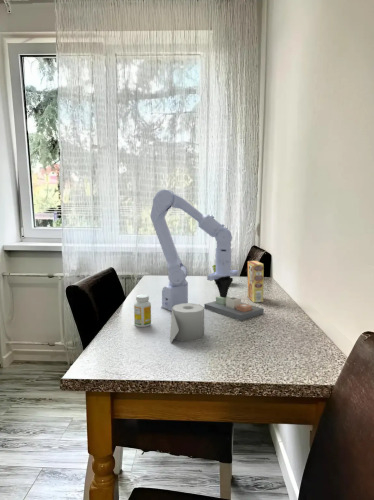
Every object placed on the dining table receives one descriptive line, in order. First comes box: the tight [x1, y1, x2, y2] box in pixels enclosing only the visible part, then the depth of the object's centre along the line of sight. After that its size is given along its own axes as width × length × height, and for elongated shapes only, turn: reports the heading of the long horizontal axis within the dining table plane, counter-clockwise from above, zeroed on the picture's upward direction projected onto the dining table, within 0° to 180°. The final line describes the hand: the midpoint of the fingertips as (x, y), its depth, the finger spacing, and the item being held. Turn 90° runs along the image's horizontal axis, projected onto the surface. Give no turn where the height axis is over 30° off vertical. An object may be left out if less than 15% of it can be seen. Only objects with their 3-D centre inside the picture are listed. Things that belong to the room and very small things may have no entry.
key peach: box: [236, 303, 252, 312], centre depth 127 cm, size 4×4×3 cm
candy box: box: [247, 260, 265, 303], centre depth 146 cm, size 9×4×15 cm, turn 8°
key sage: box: [215, 295, 231, 306], centre depth 135 cm, size 4×4×3 cm
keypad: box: [203, 300, 265, 321], centre depth 132 cm, size 12×18×2 cm, turn 39°
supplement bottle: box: [133, 293, 152, 328], centre depth 117 cm, size 5×5×10 cm
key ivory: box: [226, 296, 242, 309], centre depth 131 cm, size 4×4×3 cm
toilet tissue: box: [169, 302, 205, 343], centre depth 106 cm, size 9×13×9 cm
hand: (223, 296), depth 135 cm, fingers closed, pressing on key sage
